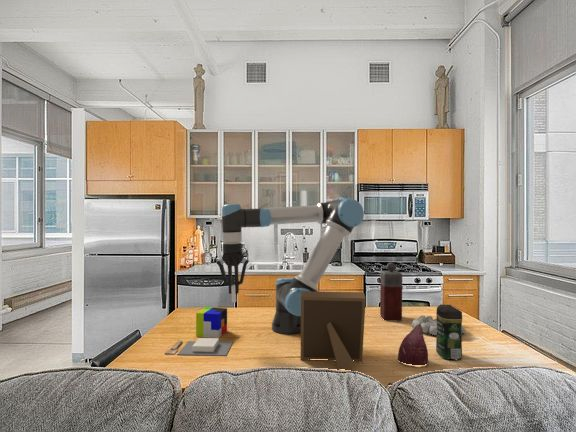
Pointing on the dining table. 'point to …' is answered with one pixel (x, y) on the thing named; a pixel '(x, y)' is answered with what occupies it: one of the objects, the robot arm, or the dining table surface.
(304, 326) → the photo frame
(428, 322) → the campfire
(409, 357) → the vegetable
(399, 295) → the dark red tall bottle
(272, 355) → the dining table surface
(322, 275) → the robot arm
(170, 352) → the wooden turner
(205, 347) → the tile
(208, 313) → the puzzle toy
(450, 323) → the coffee jar
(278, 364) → the dining table surface
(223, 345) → the mat
